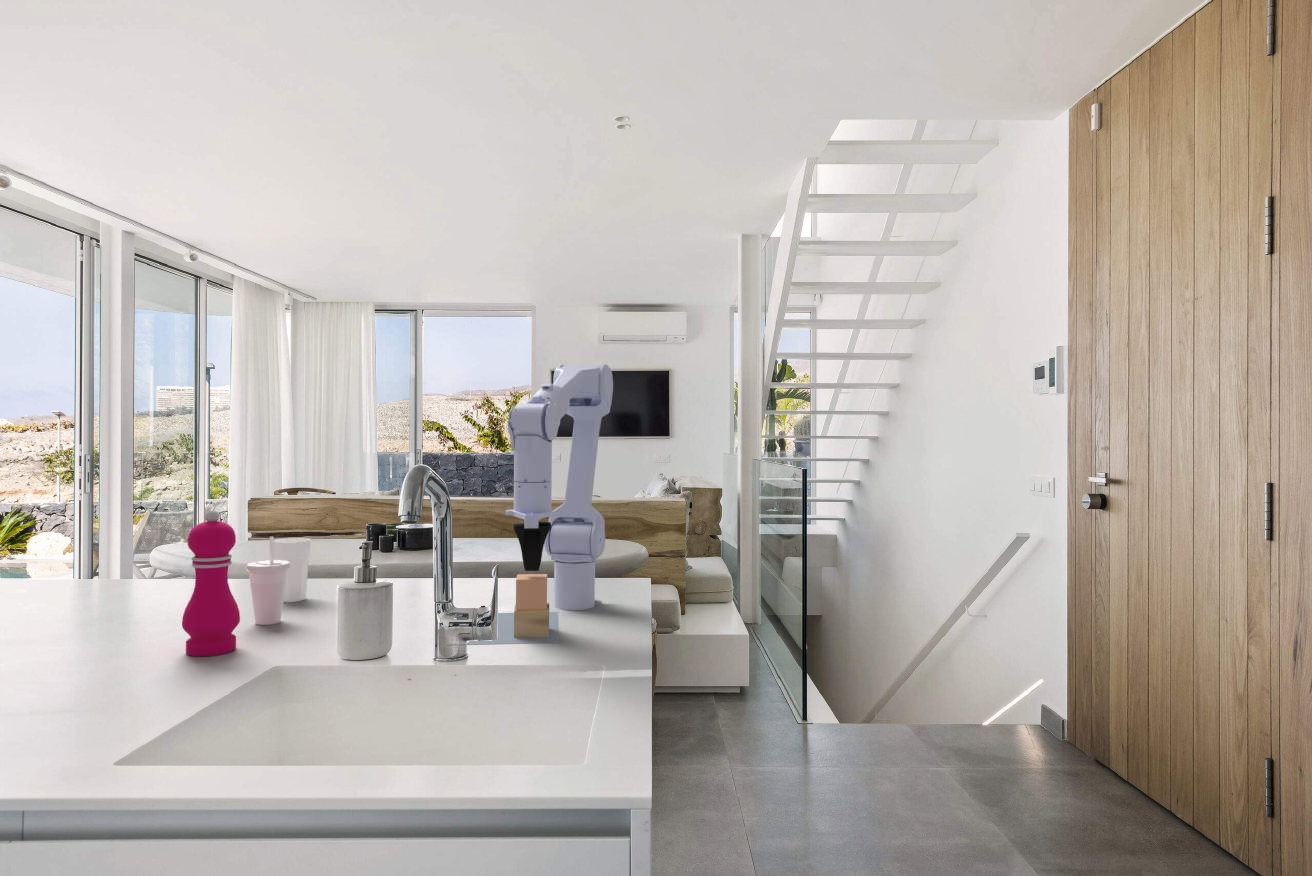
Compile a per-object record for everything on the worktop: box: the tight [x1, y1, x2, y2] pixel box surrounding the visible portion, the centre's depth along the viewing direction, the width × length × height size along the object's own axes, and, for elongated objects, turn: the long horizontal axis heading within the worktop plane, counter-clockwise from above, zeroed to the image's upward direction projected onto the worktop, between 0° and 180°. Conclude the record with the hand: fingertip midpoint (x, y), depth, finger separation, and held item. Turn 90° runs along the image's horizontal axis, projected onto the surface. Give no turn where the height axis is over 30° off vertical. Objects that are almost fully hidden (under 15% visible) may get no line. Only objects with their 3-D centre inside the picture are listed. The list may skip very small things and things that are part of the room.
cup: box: [273, 537, 311, 603], centre depth 149 cm, size 7×7×11 cm
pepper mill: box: [181, 509, 241, 658], centre depth 114 cm, size 7×7×20 cm
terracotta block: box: [515, 573, 548, 610], centre depth 123 cm, size 5×5×5 cm
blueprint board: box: [466, 611, 560, 646], centre depth 126 cm, size 20×16×1 cm
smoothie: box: [246, 536, 290, 626], centre depth 131 cm, size 6×6×14 cm
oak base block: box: [513, 602, 550, 638], centre depth 123 cm, size 5×5×4 cm
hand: (531, 570), depth 123 cm, fingers closed
